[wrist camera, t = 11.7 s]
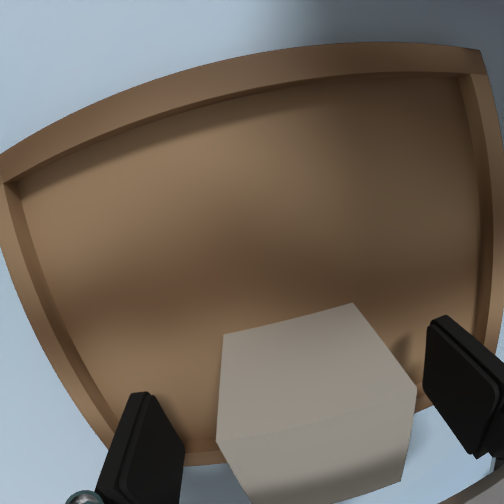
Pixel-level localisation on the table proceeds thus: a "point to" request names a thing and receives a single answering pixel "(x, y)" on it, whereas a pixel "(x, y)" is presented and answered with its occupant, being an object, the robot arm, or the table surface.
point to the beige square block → (313, 409)
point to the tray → (256, 218)
